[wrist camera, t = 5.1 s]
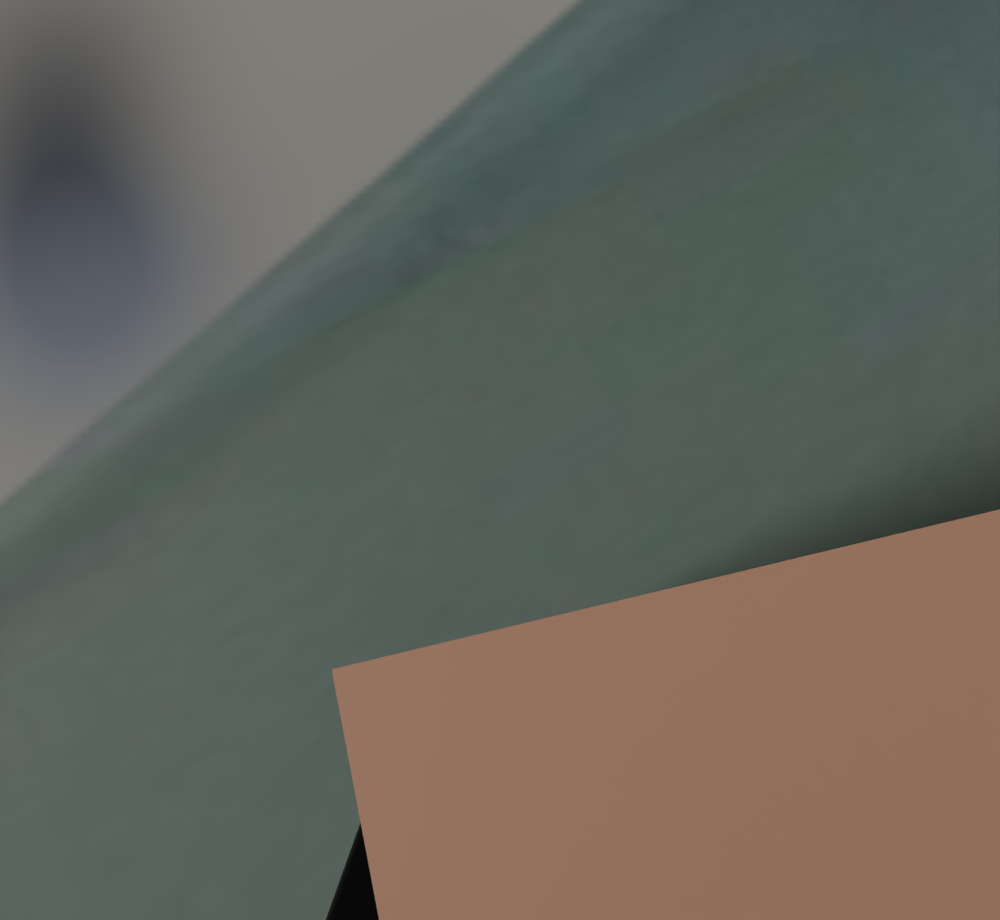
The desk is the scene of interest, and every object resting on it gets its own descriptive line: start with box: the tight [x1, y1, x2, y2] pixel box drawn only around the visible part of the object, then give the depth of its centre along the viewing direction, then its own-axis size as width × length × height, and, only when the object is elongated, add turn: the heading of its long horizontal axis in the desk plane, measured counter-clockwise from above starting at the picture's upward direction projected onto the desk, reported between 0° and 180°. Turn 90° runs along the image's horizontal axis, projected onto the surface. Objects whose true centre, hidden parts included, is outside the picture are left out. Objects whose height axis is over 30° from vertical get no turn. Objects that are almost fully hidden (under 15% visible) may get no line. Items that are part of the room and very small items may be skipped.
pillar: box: [332, 509, 1000, 920], centre depth 9 cm, size 4×4×12 cm
